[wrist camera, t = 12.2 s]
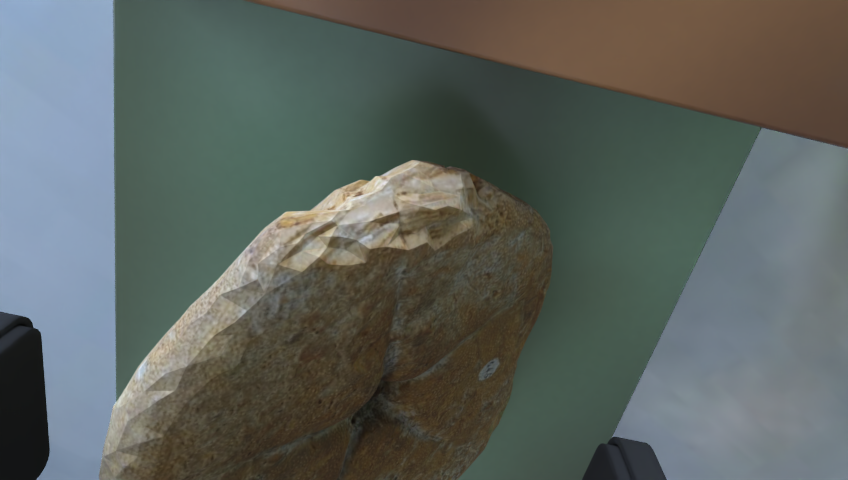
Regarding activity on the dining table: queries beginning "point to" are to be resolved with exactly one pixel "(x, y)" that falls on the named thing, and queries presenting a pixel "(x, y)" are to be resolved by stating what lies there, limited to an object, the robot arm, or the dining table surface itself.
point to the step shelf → (466, 155)
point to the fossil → (346, 341)
